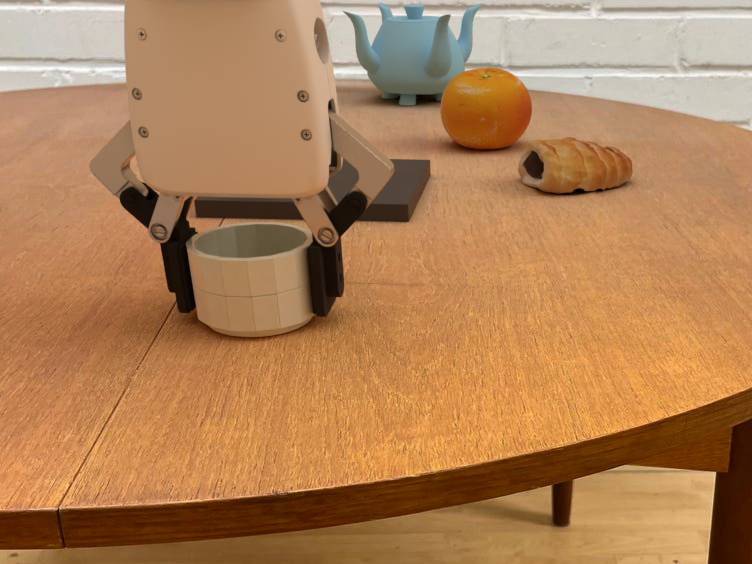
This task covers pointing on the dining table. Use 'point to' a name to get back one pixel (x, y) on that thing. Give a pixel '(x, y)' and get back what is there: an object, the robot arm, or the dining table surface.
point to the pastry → (573, 165)
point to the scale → (386, 207)
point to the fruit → (485, 108)
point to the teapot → (413, 52)
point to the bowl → (251, 278)
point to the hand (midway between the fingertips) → (258, 304)
